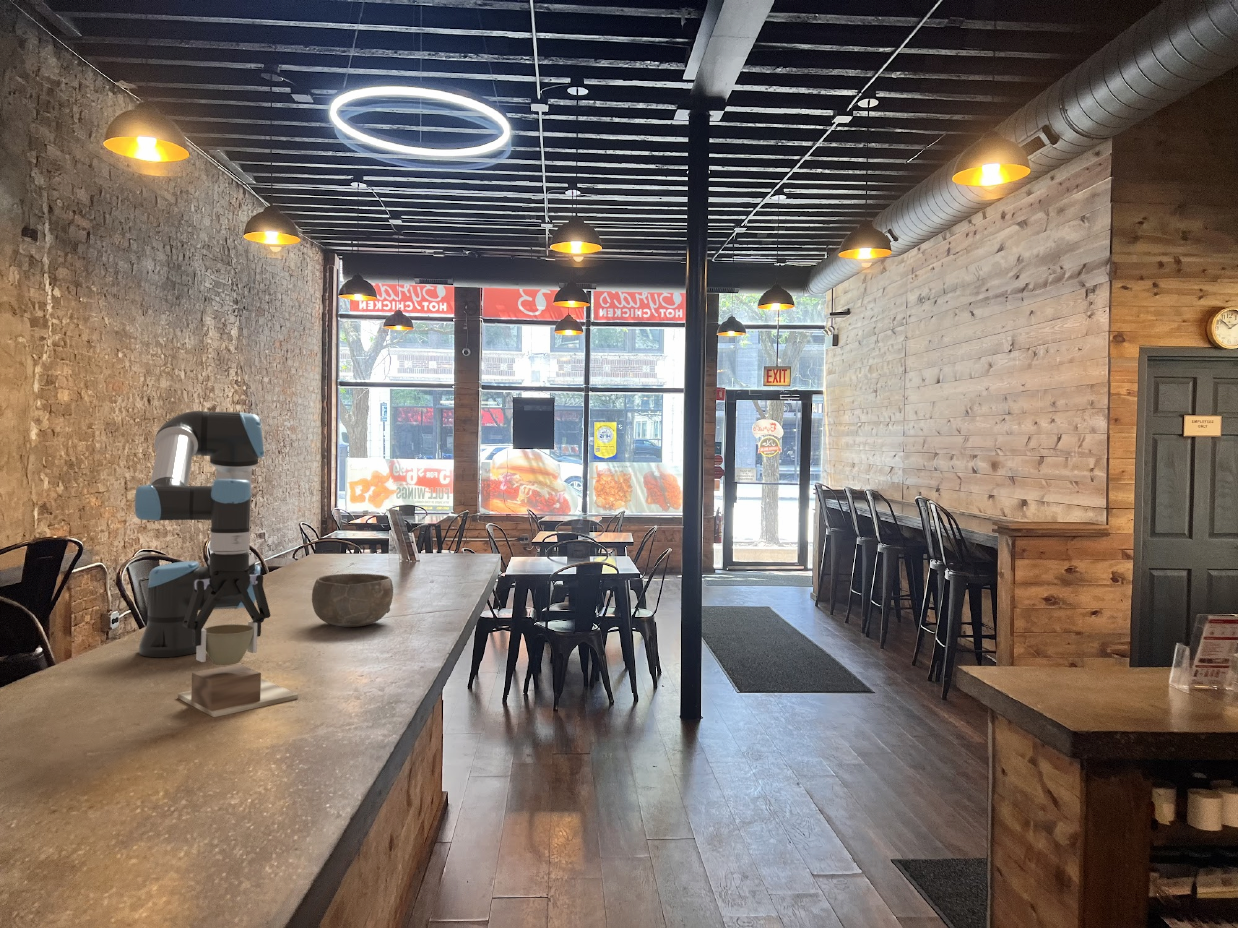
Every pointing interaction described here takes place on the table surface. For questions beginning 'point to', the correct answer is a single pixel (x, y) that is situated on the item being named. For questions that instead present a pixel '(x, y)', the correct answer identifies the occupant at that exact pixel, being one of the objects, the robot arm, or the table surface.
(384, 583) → the bowl
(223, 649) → the flower pot
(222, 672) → the pedestal
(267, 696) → the board
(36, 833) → the table surface
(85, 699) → the table surface
